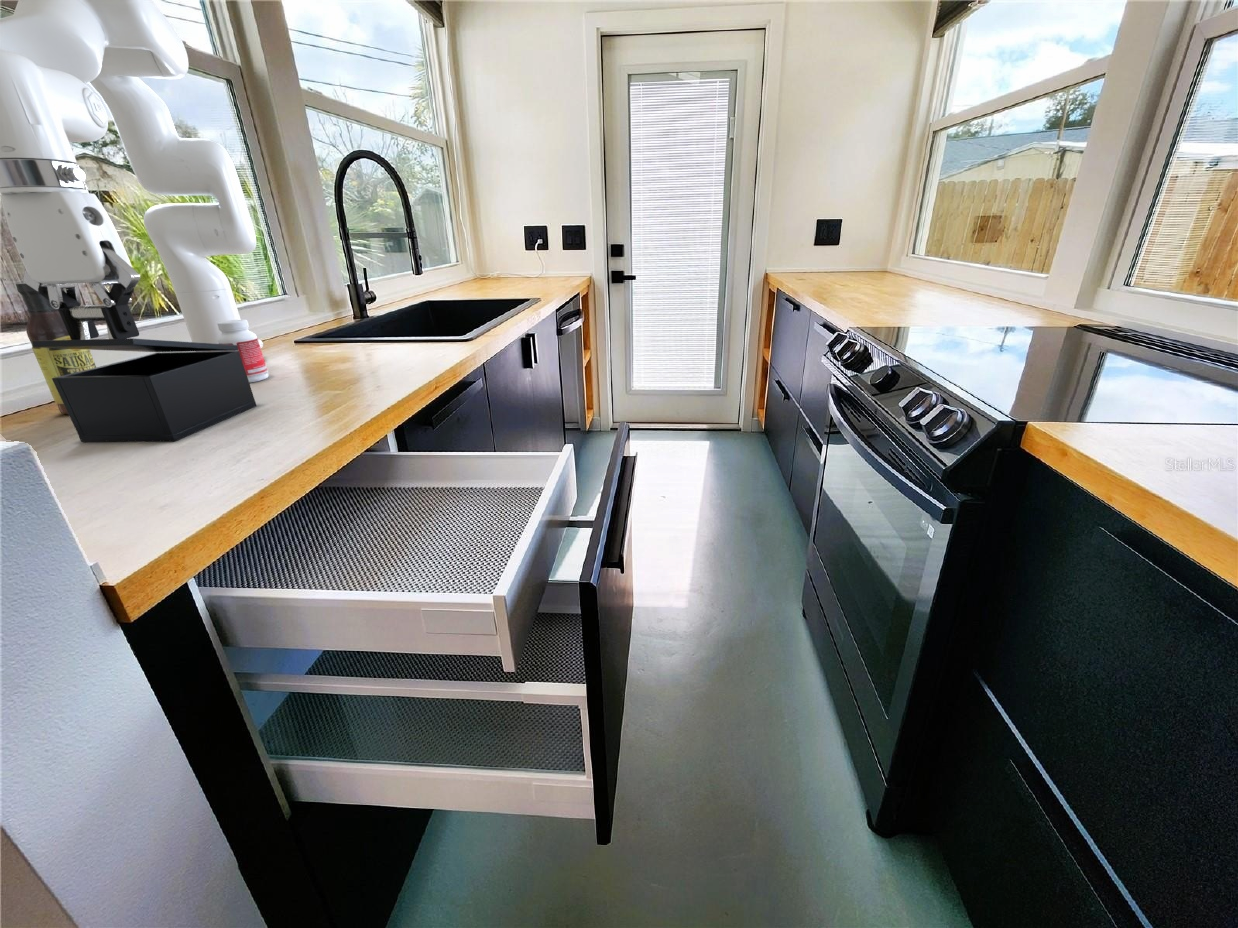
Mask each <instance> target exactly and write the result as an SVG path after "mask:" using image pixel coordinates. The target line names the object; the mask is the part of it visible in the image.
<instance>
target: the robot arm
mask: <svg viewBox="0 0 1238 928" xmlns="http://www.w3.org/2000/svg"><path fill="white" fill-rule="evenodd" d="M185 47H186V46H185V44H184V42H183V40H182V38H181V36H180V35H179V33H178V31H177V30H176V28H175V27H174V25H173V24H172V23H171V22H170V20H169V19H168V18H167V17H166V15H165V14H164V13H163V12H162V10H161V9H160V8H159V6H158V5H157V4H156V3H155V2H154V1H153V0H18V1H17V3H16V6H15V9H14V11H13V14H11V15H8V16H4V17H1V18H0V201H1V204H2V210H3V214H4V217H5V220H6V224H7V226H8V230H9V233H10V236H11V238H12V242H13V243H14V246H15V249H16V251H17V254H18V256H19V258H20V260H21V263H22V264H23V267H24V268H25V269H24V273H23V276H22V280H23V283H26V284H27V285H29V286H30V287H32V288H33V289H35V290H36V291H39V293H40V294H41V295H42V296H43V297H45V298H46V299H47V300H49V301H50V304H51V306H52V307H53V308H55V309H58V311H59V313H60V316H61V318H62V320H63V322H64V325H65V327H66V329H67V331H68V334H69V336H70V338H71V340H80V335H79V329H78V324H77V321H75V320H73V319H72V318H71V317H70V315H69V309H70V307H72V306H81V305H82V299H81V293H80V287H79V284H88V283H89V285H90V286H91V288H92V289H93V291H94V292H95V294H96V295H97V296H98V298H99V300H100V301H101V302H102V305H105V306H106V307H103V308H101V311H102V313H103V316H104V318H105V321H104V322H105V324H106V323H107V325H106V327H107V326H108V328H109V330H110V333H111V335H112V338H114V339H128V338H137V337H139V336H140V331H139V329H138V326H137V324H136V320H135V318H134V316H133V313H132V311H131V308H130V306H129V305H131V304H132V303H133V300H132V298H131V297H132V296H133V293H134V291H135V288H136V286H137V284H138V283H139V282H140V281H141V275H140V273H139V272H137V270H135V269H134V268H133V265H132V263H131V261H130V257H129V255H128V252H127V251H126V248H125V246H124V243H123V242H122V239H121V237H120V235H119V233H118V231H117V229H116V227H115V225H114V223H113V221H112V219H111V218H110V216H109V214H108V212H107V211H106V209H105V207H104V205H103V204H102V202H101V201H100V200H99V198H98V197H97V195H96V194H95V193H91V192H89V190H88V187H87V185H86V182H85V181H86V178H87V176H86V173H85V172H84V170H83V169H81V167H79V164H78V161H77V159H76V157H75V154H74V151H73V148H72V146H71V144H70V143H90V142H91V143H92V142H96V141H99V140H100V139H101V140H102V138H104V137H105V135H106V134H107V132H108V129H109V117H108V113H107V109H108V111H109V113H110V116H111V118H112V121H113V123H114V126H115V127H116V128H115V129H116V131H117V133H118V136H119V138H120V141H121V143H122V146H123V149H124V152H125V153H126V156H127V158H128V161H129V164H130V166H131V169H132V171H133V173H134V176H135V177H136V179H137V181H138V183H139V184H140V185H141V187H142V188H143V189H144V190H146V191H147V192H149V193H151V194H154V195H157V196H174V197H175V196H176V197H177V196H179V197H180V196H211V197H212V198H214V199H215V200H216V202H203V203H202V202H201V203H199V202H198V203H197V202H185V203H183V202H181V203H180V202H179V203H162V204H156V205H154V206H151V207H149V208H148V209H147V210H146V211H145V212H144V215H143V224H144V228H145V231H146V233H147V235H148V237H149V239H150V241H151V242H152V244H153V246H154V248H155V250H156V252H157V253H158V255H159V257H160V259H161V261H162V263H163V266H164V268H165V270H166V273H167V275H168V278H169V280H170V283H171V286H172V289H173V291H174V293H175V297H176V300H177V303H178V306H179V309H180V311H181V314H182V317H183V320H184V323H185V326H186V328H187V331H188V334H189V337H190V339H191V342H196V343H212V344H219V343H218V337H219V336H220V335H221V334H222V332H221V331H219V328H218V324H217V323H219V322H223V321H230V320H240V319H241V315H240V311H239V310H238V306H237V303H236V300H235V297H234V294H233V293H234V292H233V291H232V287H231V284H230V283H231V282H229V281H230V280H229V279H228V277H227V276H226V274H225V273H224V272H223V270H221V269H220V268H219V267H218V266H216V265H215V264H213V263H212V262H211V261H210V260H209V259H208V258H207V257H212V256H230V255H232V256H233V255H245V254H246V255H247V254H250V253H252V252H254V251H255V250H256V248H257V243H258V241H257V235H256V231H255V227H254V223H253V220H252V218H251V213H250V211H249V207H248V204H247V202H246V198H245V194H244V192H243V188H242V184H241V181H240V178H239V176H238V173H237V170H236V167H235V165H234V162H233V159H232V158H231V156H230V154H229V153H228V151H227V150H226V149H225V147H224V146H223V145H221V144H220V143H219V142H217V141H215V140H212V139H208V138H196V137H195V138H194V137H193V138H192V137H188V138H187V137H186V138H185V137H180V136H179V135H178V133H177V130H176V127H175V125H174V122H173V119H172V116H171V113H170V111H169V108H168V106H167V104H166V103H165V102H164V101H163V99H161V97H160V96H159V95H158V94H157V93H155V91H154V90H152V89H151V87H149V85H147V84H146V83H145V82H143V80H141V79H140V78H145V79H146V78H148V79H163V80H164V79H166V80H178V79H182V78H184V77H185V76H186V75H187V74H188V71H189V67H190V66H189V64H190V63H189V56H188V53H187V49H186V48H185ZM87 84H89V85H90V86H88V85H87ZM91 87H92V88H93V89H91ZM93 90H94V91H95V92H94V91H93ZM102 101H103V102H102ZM103 103H104V104H105V106H106V107H107V109H106V107H105V106H104V104H103ZM107 287H109V288H110V289H108V288H107ZM63 289H65V291H64V290H63ZM87 323H88V328H89V334H90V339H97V338H98V337H100V333H99V331H98V328H97V326H96V324H95V322H87ZM258 342H259V345H260V348H261V349H262V348H263V347H264V342H263V341H262V340H261V339H258ZM195 352H208V351H195Z"/></svg>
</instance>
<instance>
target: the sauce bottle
mask: <svg viewBox="0 0 1238 928" xmlns="http://www.w3.org/2000/svg"><path fill="white" fill-rule="evenodd" d="M15 287H16V290H17V292H18V293H19V294H20V295H21V296H22V299H23V302H24V303H25V306H26V308H27V309H26V311H27V313H28V315H29V318H28V320H27V322H26V335H27V338H28V340H29V342H30V344H31V350H32V352H33V354H34V356H35V359H36V361H37V363H38V366H39V368H40V370H41V372H42V375H43V378H44V380H45V382H46V385H47V386H48V389H49V391H50V394H51V396H52V398H53V401H54V403H55V404H56V405H57V407H58V410H59V412H60V413H61V414H64V415H69V414H68V412H67V410H66V408H65V406H64V403H63V401H62V399H61V397H60V395H59V393H58V391H57V389H56V387H55V384H54V382H53V380H52V378H55V377H59V376H63V375H67V374H71V373H75V372H80V371H84V370H88V369H92V368H96V367H97V366H96V363H95V360H94V358H93V355H92V353H91V350H88V349H63V348H39V347H33V344H32V341H46V340H71V338H70V336H69V334H68V331H67V329H66V327H65V325H64V322H63V320H62V318H61V316H60V313H59V311H58V309H55V308H53V307H52V306H51V304H50V301H49V300H47V299H46V298H45V297H43V296H42V295H41V294H40V293H39V291H36V290H35V289H33V288H32V287H30V286H29V285H27V284H26V283H25V282H17V283H15Z"/></svg>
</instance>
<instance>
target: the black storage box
mask: <svg viewBox="0 0 1238 928" xmlns="http://www.w3.org/2000/svg"><path fill="white" fill-rule="evenodd" d="M52 380H53V382H54V384H55V387H56V389H57V391H58V393H59V395H60V397H61V399H62V401H63V403H64V406H65V408H66V410H67V412H68V414H67V415H68V416H69V418H70V421H71V422H72V425H73V426H74V429H75V431H76V433H77V436H78V438H79V440H80V442H81V443H142V442H143V443H144V442H145V443H147V442H149V443H154V442H155V443H157V442H161V443H162V442H177V441H179V440H181V439H185V438H186V437H188V436H191V435H193V434H195V433H198V432H200V431H203V430H205V429H207V428H209V427H211V426H214V425H217V424H218V423H220V422H223V421H225V420H228V419H230V418H232V417H235V416H236V415H239V414H242V413H244V412H246V411H248V410H251V409H253V408H255V407H257V403H256V400H255V395H254V393H253V390H252V387H251V384H250V383H249V380H248V377H247V374H246V371H245V368H244V365H243V362H242V359H241V356H240V352H239V351H208V352H196V351H189V352H152V353H149V354H146V355H141V356H137V357H133V358H129V359H125V360H121V361H117V362H112V363H107V364H105V365H100V366H96V368H92V369H88V370H84V371H80V372H75V373H71V374H67V375H63V376H59V377H55V378H52Z"/></svg>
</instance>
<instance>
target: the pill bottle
mask: <svg viewBox="0 0 1238 928" xmlns="http://www.w3.org/2000/svg"><path fill="white" fill-rule="evenodd" d="M217 324H218V328H219V331H221V332H222V334H221V335H220V336H219V337H218V343H219V344H227V345H238V350H235V351H239V352H240V356H241V359H242V362H243V365H244V368H245V371H246V374H247V377H248V380H249V384H250V383H255V382H261V381H264V380H266V379H268V378H269V375H270V374H269V371H268V367H267V365H266V361H265V358H264V355H263V352H262V348H260V345H259V342H258V340H259V339H258V336H257V334H256V333H255V332H253V331H251V330H250V329H249V328H250V325H249V321H248V319H247V318H246V319H245V318H244V319H243V318H240V320H230V321H223V322H219V323H217Z"/></svg>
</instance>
